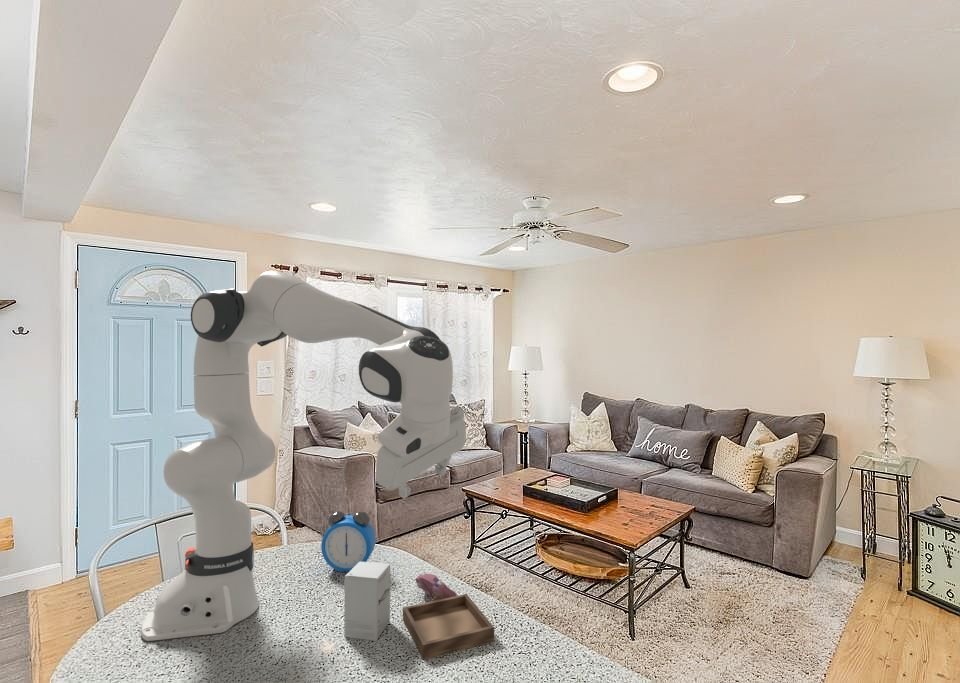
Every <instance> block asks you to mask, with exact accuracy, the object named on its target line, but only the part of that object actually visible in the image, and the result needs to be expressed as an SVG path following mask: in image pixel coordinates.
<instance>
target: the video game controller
mask: <svg viewBox="0 0 960 683" xmlns="http://www.w3.org/2000/svg"><path fill="white" fill-rule="evenodd" d="M415 582H416V586H417V588H418V589H421V590H422V591H423V592H424V593H425V594H426V596H428V597H429V598H431V597H432V598H433V599H434V600H433V601H436V600H440V599H445V598H450V597H454V596H458V595H457V593H456V591H455V590H453V589H451V588H450V587H448V586H447V585H446V583H444V582H443V581H442V580H441V579H440V578H439V577H438V576H436V574H433V573H426V572H425V571H423V572H422V573H421V574H419V575H417V577H416V578H415Z"/></svg>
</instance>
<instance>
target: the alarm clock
mask: <svg viewBox="0 0 960 683" xmlns="http://www.w3.org/2000/svg"><path fill="white" fill-rule="evenodd" d="M326 522H327V525H328V526H329V527H328V529H327V530H326V531H325V532H324V534H323V536H322V538H321V544H320V546H321V547H320V548H321V554H322V557H323V559H324V561H325V562H326V564H327V565H329V567H331V568H332V569H333V572H335V571H339V572H342V573H349V572H350V571H351V569H352V568H354V567H355V566H356V565H357V563H358V562H368V560H369V558H370V557H371V555H372V554H373V551H374V549H375V547H376V541H377V540H376V533H375V530H374V528H373V526H372V525H371V517H370V514H369V513H367V512H366V511H363V510H362V511H361V510H358V511H356V512H354V513H353V514H351V513H345V512H344V511H342V510H336V511H332V513H331V514H330V515H328V517H327V521H326Z"/></svg>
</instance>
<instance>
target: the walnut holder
mask: <svg viewBox="0 0 960 683" xmlns="http://www.w3.org/2000/svg"><path fill="white" fill-rule="evenodd" d="M402 621H403V624H404V625H405V628H406V630H407V631H408V633H409V636H410V637H411V638H412V641H413V642H414V645H415V646H416V649H417V651H418V653H419V655H420V657H421V659H422V660H423V661H424V660H429V659H432V658H436V657H439V656H444V655H447V654H452V653H455V652H459V651H463V650H467V649H470V648H474V647H478V646H482V645H486V644H491V643H493V642H495V627H494V625H493V624H492V623H491V622H490V621H489V618H487V617H486V616H485V615H484V613H483V612H482V611H481V609H480V608H479V607H478V606H477V604H476V603H475V602H474V601H473V600H472V599H471V598H470V596H469V594H467V593H465V594H459V595H457V596H454V597H450V598H445V599H440V600H431V601H427V602H422V603H417V604H413V605H409V606H404V607H402Z"/></svg>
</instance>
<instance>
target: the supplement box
mask: <svg viewBox="0 0 960 683" xmlns="http://www.w3.org/2000/svg"><path fill="white" fill-rule="evenodd" d="M343 613H344V616H343V617H344V618H343V620H344V628H343V630H344V633H343V634H344V637H345V638H350V639H357V640H364V641H365V640H366V641H373V642H375V641H378V639H379V638H380V636H381V634H382V633H383V632H384V630H385V629H386V627H387V626H388V625H389V623H390V621H391V620H390V619H391V614H390V613H391V564H390V563H381V562H373V561H372V562H369V561H366V562H358V563H357V565H356V566H355V567H354V568H352V569H351V571H350V572H347V573H346V574H345V575H344V612H343Z"/></svg>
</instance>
